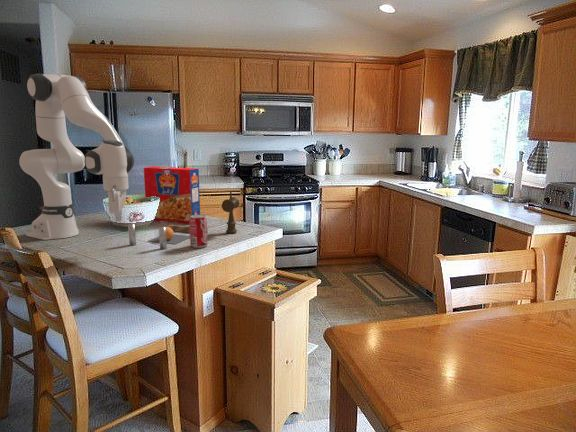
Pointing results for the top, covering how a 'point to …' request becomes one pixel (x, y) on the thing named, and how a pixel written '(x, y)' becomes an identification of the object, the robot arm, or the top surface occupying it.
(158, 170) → the pasta box
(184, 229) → the stopper wall
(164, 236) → the right post
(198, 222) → the soda can
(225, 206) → the kendama
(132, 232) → the left post
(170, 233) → the ball
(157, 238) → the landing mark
